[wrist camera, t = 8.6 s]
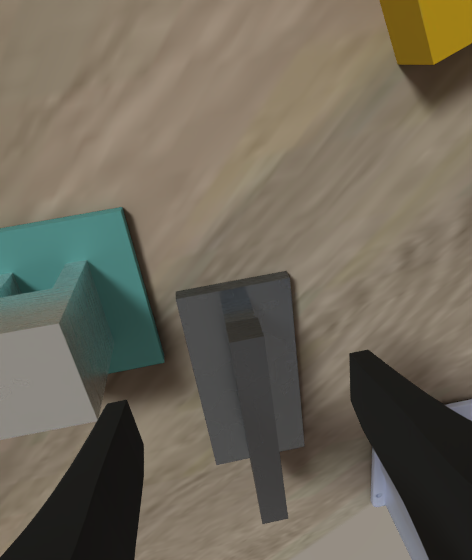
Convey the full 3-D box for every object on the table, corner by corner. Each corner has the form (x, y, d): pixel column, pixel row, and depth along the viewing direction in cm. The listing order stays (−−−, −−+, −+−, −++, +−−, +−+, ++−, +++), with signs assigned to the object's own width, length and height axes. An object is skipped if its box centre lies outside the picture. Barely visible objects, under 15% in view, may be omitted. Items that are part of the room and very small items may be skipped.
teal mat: (164, 356, 24) (164, 362, 23) (6, 386, 23) (2, 394, 23) (122, 207, 19) (120, 211, 19) (-73, 241, 19) (-80, 246, 18)
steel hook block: (114, 343, 22) (97, 421, 17) (29, 358, 22) (-12, 442, 17) (86, 259, 20) (58, 323, 15) (-9, 276, 20) (-69, 346, 15)
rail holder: (301, 436, 28) (326, 510, 24) (215, 455, 28) (223, 532, 23) (286, 270, 22) (315, 326, 18) (175, 291, 22) (176, 353, 17)
